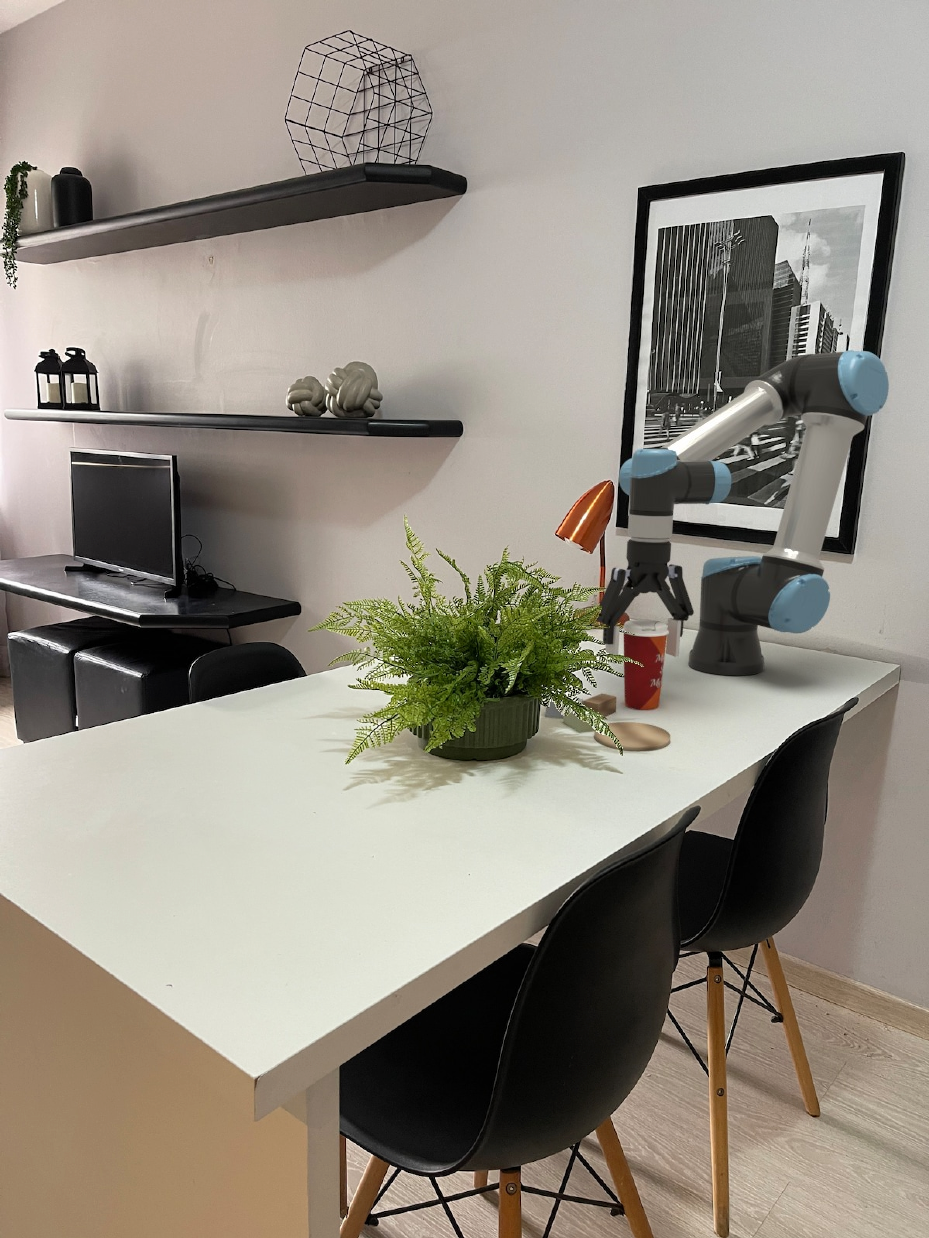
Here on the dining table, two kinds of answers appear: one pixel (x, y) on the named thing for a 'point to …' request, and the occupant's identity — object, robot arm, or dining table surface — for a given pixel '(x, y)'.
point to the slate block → (554, 712)
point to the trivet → (635, 736)
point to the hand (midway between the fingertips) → (642, 658)
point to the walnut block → (602, 704)
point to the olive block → (577, 723)
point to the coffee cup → (644, 662)
